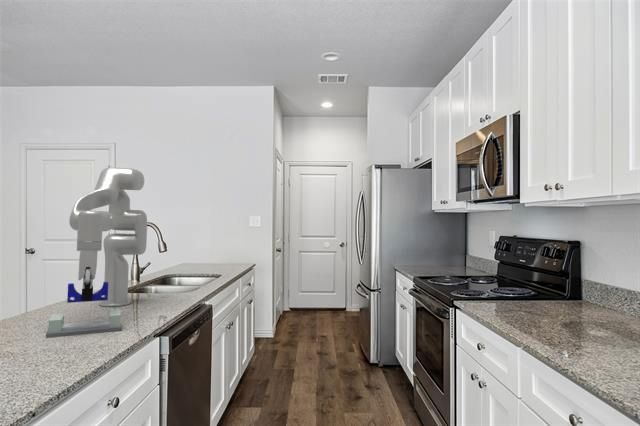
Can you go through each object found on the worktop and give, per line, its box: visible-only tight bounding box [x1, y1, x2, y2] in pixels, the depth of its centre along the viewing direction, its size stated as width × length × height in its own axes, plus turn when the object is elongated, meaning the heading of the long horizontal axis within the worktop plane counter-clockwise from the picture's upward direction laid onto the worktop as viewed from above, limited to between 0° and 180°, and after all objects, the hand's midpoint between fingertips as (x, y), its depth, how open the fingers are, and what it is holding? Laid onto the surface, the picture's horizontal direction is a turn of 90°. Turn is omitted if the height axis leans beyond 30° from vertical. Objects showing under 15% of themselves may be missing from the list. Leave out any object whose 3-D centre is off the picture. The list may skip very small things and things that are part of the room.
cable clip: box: [66, 281, 108, 304], centre depth 139 cm, size 12×4×6 cm, turn 118°
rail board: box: [45, 308, 123, 339], centre depth 139 cm, size 12×22×5 cm, turn 118°
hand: (87, 298), depth 139 cm, fingers closed on cable clip, 4 cm apart
